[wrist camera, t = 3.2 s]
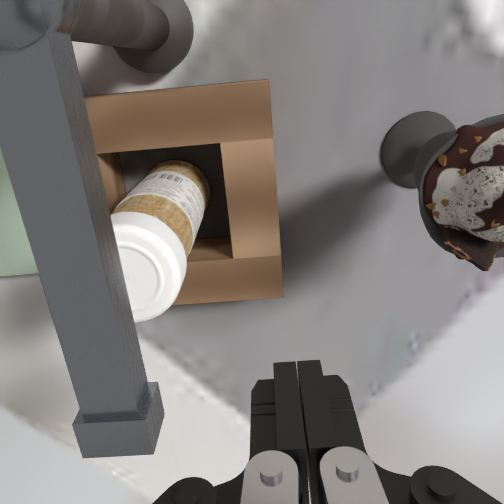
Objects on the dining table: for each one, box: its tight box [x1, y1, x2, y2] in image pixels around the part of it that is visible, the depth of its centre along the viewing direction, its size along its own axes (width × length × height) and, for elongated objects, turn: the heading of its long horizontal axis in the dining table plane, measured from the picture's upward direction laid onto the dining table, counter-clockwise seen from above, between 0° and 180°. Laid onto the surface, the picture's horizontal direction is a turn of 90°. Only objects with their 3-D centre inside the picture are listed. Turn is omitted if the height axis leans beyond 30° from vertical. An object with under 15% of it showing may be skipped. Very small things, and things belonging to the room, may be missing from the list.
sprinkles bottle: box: [110, 160, 210, 322], centre depth 24 cm, size 5×5×14 cm
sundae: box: [382, 111, 504, 271], centre depth 22 cm, size 7×7×15 cm
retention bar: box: [0, 0, 164, 458], centre depth 14 cm, size 17×3×2 cm, turn 5°
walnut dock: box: [70, 0, 284, 305], centre depth 22 cm, size 19×13×16 cm
